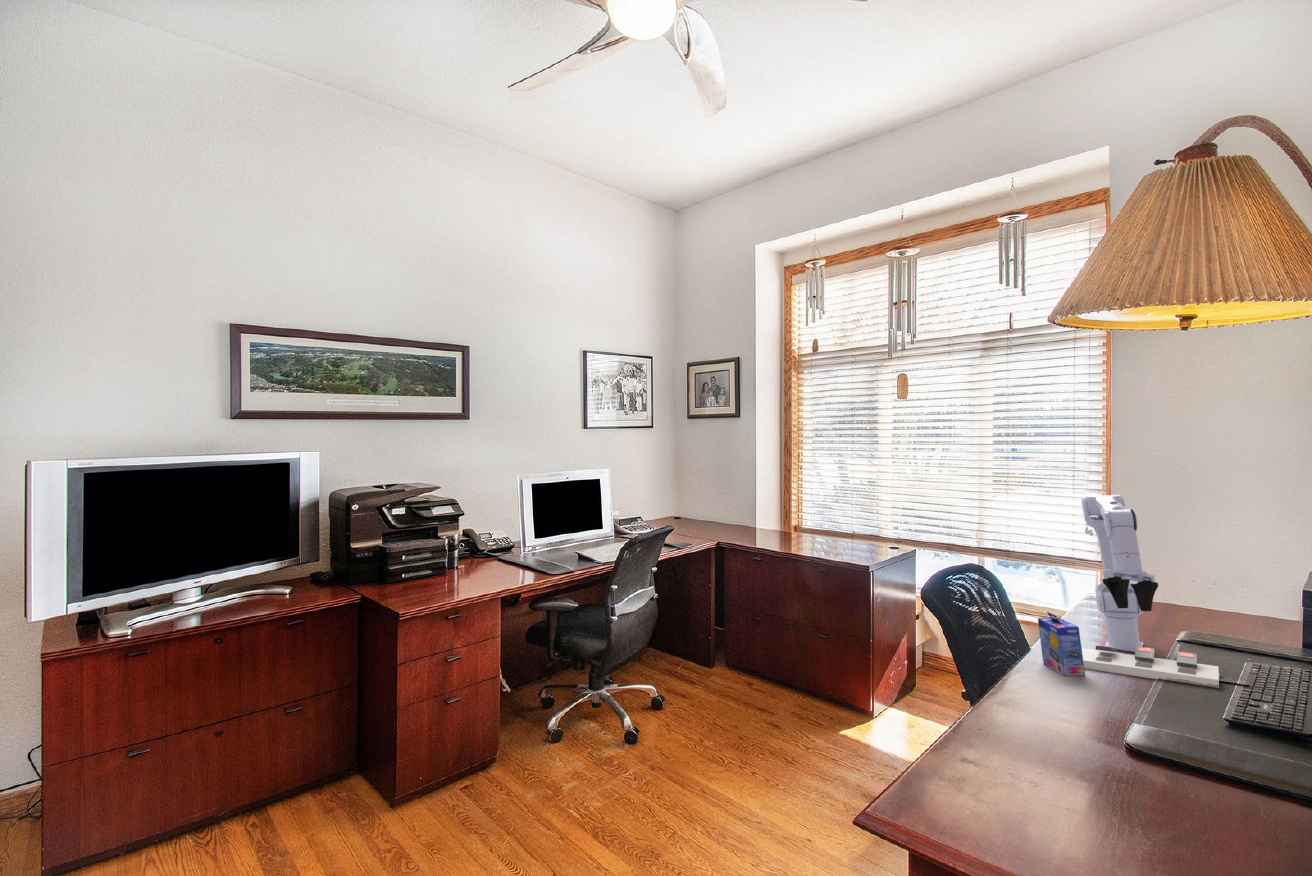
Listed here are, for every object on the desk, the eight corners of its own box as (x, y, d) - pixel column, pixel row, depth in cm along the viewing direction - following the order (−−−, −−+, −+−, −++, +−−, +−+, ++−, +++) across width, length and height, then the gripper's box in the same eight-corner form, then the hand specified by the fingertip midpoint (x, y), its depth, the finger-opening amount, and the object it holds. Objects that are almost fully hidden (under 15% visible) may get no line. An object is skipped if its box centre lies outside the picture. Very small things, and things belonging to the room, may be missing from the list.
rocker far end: (1099, 649, 157) (1098, 645, 158) (1115, 651, 155) (1115, 647, 155) (1095, 649, 154) (1095, 645, 154) (1113, 651, 151) (1112, 647, 152)
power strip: (1083, 655, 160) (1082, 647, 160) (1248, 678, 138) (1247, 669, 138) (1076, 667, 152) (1075, 658, 152) (1250, 693, 130) (1249, 684, 130)
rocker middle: (1136, 649, 152) (1136, 645, 152) (1154, 652, 149) (1154, 648, 149) (1135, 659, 148) (1134, 656, 148) (1153, 662, 146) (1153, 658, 146)
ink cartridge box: (1040, 663, 157) (1035, 608, 157) (1062, 662, 156) (1057, 608, 157) (1062, 676, 147) (1056, 618, 148) (1086, 675, 146) (1080, 617, 147)
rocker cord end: (1177, 655, 146) (1176, 651, 146) (1196, 657, 144) (1196, 653, 144) (1177, 665, 143) (1176, 661, 143) (1197, 668, 140) (1196, 664, 140)
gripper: (1119, 550, 145) (1128, 606, 141) (1163, 557, 149) (1173, 612, 144) (1092, 553, 152) (1100, 607, 148) (1135, 559, 155) (1144, 612, 151)
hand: (1134, 609), depth 146 cm, fingers open, 7 cm apart
